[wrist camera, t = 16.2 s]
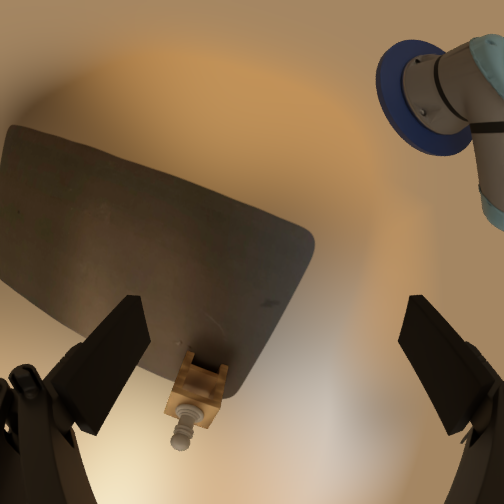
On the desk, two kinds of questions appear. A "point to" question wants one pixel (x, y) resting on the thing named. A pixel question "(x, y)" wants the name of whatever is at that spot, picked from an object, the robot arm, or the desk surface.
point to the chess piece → (185, 425)
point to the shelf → (197, 390)
